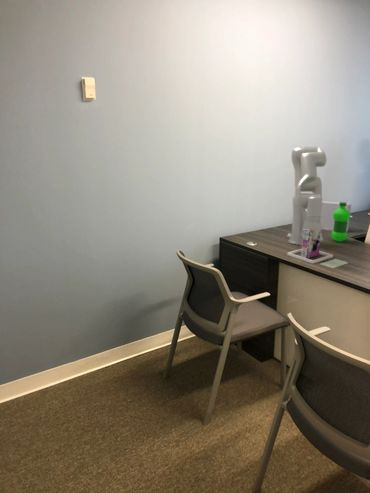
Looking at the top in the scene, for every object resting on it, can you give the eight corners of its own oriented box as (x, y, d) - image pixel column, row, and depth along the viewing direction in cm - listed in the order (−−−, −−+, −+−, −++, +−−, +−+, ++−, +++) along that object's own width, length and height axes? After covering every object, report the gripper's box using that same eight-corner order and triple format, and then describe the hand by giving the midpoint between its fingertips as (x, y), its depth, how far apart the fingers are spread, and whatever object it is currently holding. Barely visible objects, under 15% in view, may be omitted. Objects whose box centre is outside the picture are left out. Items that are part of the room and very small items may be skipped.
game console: (346, 232, 267) (350, 204, 261) (307, 227, 280) (309, 201, 274) (348, 230, 271) (351, 203, 265) (309, 226, 285) (311, 199, 279)
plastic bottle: (339, 237, 255) (343, 200, 247) (350, 242, 245) (355, 203, 238) (326, 239, 252) (331, 201, 244) (337, 243, 242) (342, 204, 235)
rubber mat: (319, 264, 206) (319, 263, 206) (335, 259, 213) (335, 258, 213) (332, 268, 200) (332, 267, 199) (348, 263, 207) (348, 262, 207)
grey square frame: (287, 255, 221) (287, 252, 221) (307, 249, 231) (307, 247, 230) (312, 263, 207) (313, 261, 207) (332, 257, 217) (333, 254, 216)
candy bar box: (307, 259, 214) (309, 231, 209) (300, 257, 218) (302, 229, 213) (319, 255, 220) (322, 228, 215) (312, 253, 224) (314, 226, 219)
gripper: (296, 216, 217) (294, 246, 222) (322, 222, 204) (318, 254, 209) (305, 214, 221) (302, 244, 226) (330, 220, 208) (327, 251, 213)
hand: (310, 248), depth 218 cm, fingers closed on candy bar box, 5 cm apart
